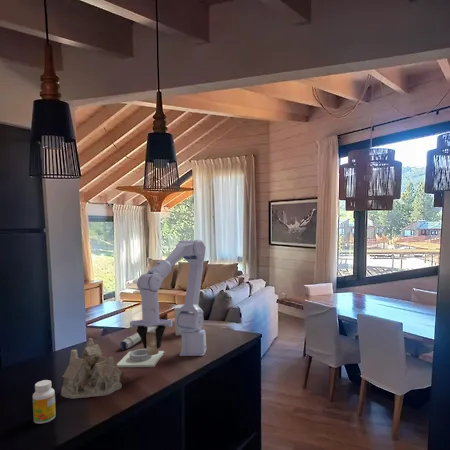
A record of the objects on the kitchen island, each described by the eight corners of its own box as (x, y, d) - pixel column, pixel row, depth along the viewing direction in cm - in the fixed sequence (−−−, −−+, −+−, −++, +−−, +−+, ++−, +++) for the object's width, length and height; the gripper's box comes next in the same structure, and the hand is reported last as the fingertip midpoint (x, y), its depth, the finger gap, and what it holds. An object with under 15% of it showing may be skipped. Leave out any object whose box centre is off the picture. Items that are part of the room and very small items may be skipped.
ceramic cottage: (55, 391, 118) (55, 343, 117) (103, 375, 130) (104, 332, 129) (77, 409, 107) (78, 357, 107) (128, 391, 119) (129, 344, 118)
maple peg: (159, 350, 132) (158, 331, 132) (156, 355, 128) (155, 334, 128) (148, 351, 132) (147, 331, 132) (145, 355, 128) (144, 334, 128)
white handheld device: (117, 340, 155) (155, 317, 177) (120, 355, 156) (157, 330, 177) (127, 341, 152) (164, 318, 174) (129, 357, 153) (166, 331, 175)
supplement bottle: (29, 422, 99) (27, 386, 99) (45, 412, 104) (43, 377, 104) (44, 425, 98) (42, 388, 97) (60, 415, 103) (58, 379, 102)
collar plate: (163, 352, 148) (163, 345, 148) (154, 366, 134) (153, 359, 134) (129, 353, 149) (129, 346, 149) (116, 367, 135) (115, 359, 135)
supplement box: (193, 330, 177) (192, 303, 177) (191, 335, 169) (189, 307, 169) (178, 330, 178) (177, 304, 177) (175, 335, 170) (173, 307, 170)
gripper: (126, 311, 126) (128, 351, 127) (168, 310, 125) (170, 351, 125) (133, 306, 133) (135, 344, 134) (173, 305, 132) (175, 344, 132)
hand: (152, 347), depth 130 cm, fingers closed on maple peg, 4 cm apart
